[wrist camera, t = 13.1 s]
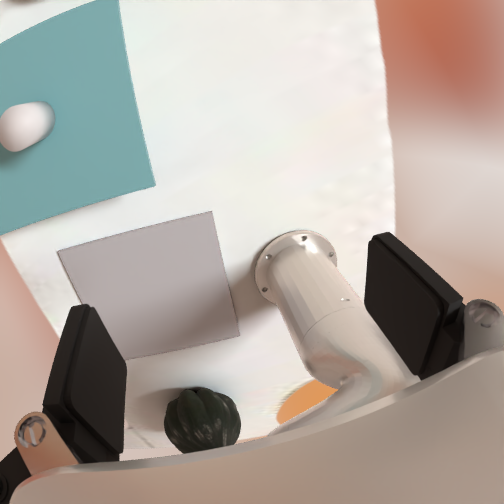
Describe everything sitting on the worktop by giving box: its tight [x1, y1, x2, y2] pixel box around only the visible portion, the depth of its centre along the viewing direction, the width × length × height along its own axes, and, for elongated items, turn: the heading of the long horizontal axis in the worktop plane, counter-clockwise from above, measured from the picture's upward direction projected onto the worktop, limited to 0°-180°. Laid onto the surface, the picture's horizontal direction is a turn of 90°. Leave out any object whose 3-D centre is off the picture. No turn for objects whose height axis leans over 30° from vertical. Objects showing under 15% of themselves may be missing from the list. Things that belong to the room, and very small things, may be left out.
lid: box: [0, 0, 156, 235], centre depth 22 cm, size 20×20×6 cm
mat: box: [58, 211, 240, 360], centre depth 45 cm, size 22×22×1 cm
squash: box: [164, 388, 241, 454], centre depth 54 cm, size 14×15×15 cm
